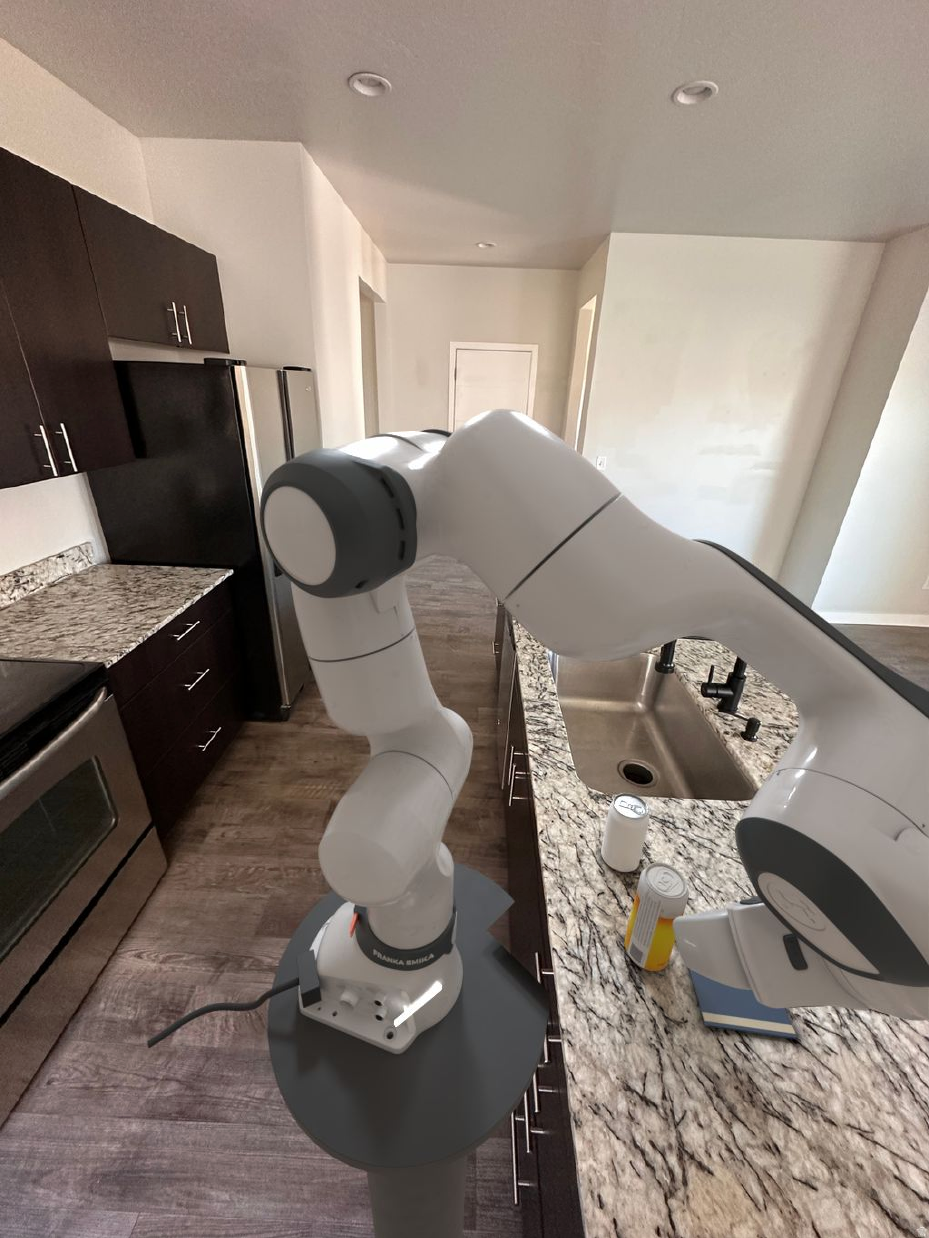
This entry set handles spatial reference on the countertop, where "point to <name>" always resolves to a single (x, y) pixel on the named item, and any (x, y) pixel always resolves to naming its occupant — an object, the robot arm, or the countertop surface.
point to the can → (625, 832)
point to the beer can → (655, 915)
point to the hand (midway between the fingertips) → (740, 914)
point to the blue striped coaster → (738, 1009)
